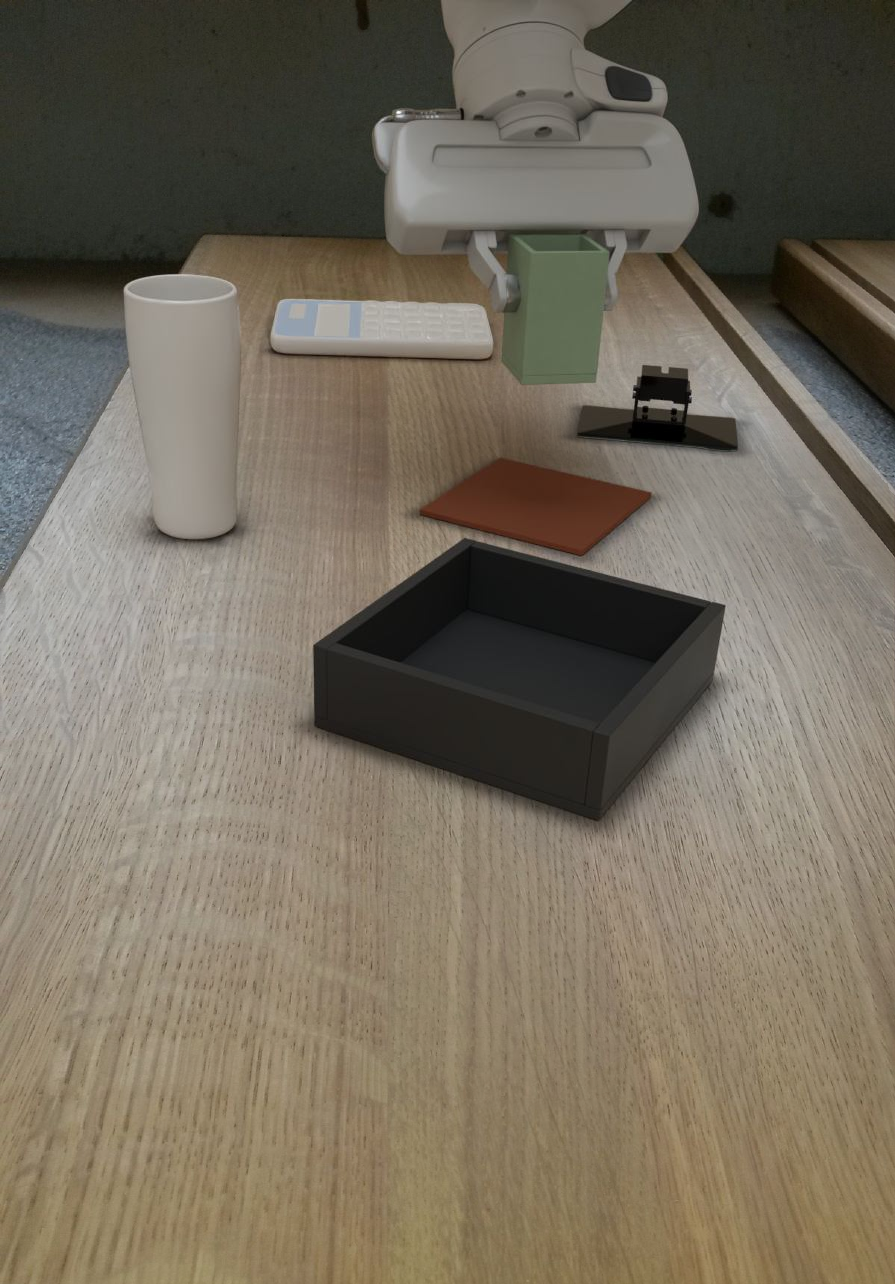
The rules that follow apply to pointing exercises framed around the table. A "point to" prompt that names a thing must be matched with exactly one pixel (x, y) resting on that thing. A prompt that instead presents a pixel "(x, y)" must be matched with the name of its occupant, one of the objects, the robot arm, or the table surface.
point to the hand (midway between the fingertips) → (557, 307)
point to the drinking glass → (187, 397)
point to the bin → (519, 673)
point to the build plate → (660, 416)
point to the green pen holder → (555, 308)
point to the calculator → (381, 329)
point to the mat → (538, 505)
